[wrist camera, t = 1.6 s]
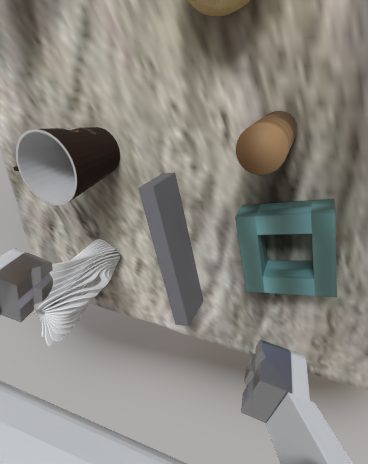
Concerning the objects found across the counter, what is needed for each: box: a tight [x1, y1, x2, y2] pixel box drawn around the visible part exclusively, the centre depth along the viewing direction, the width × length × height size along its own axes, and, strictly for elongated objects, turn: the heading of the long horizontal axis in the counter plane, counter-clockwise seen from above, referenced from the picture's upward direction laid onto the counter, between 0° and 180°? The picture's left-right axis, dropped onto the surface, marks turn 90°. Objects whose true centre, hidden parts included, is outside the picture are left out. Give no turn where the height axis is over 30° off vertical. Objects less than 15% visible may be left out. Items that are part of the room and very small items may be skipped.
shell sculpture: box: [32, 239, 120, 346], centre depth 42 cm, size 8×8×18 cm
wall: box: [138, 173, 203, 326], centre depth 40 cm, size 2×20×6 cm, turn 13°
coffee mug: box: [14, 127, 120, 206], centre depth 38 cm, size 12×9×10 cm
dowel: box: [236, 111, 297, 175], centre depth 27 cm, size 4×4×10 cm
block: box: [235, 199, 337, 297], centre depth 35 cm, size 10×10×4 cm
